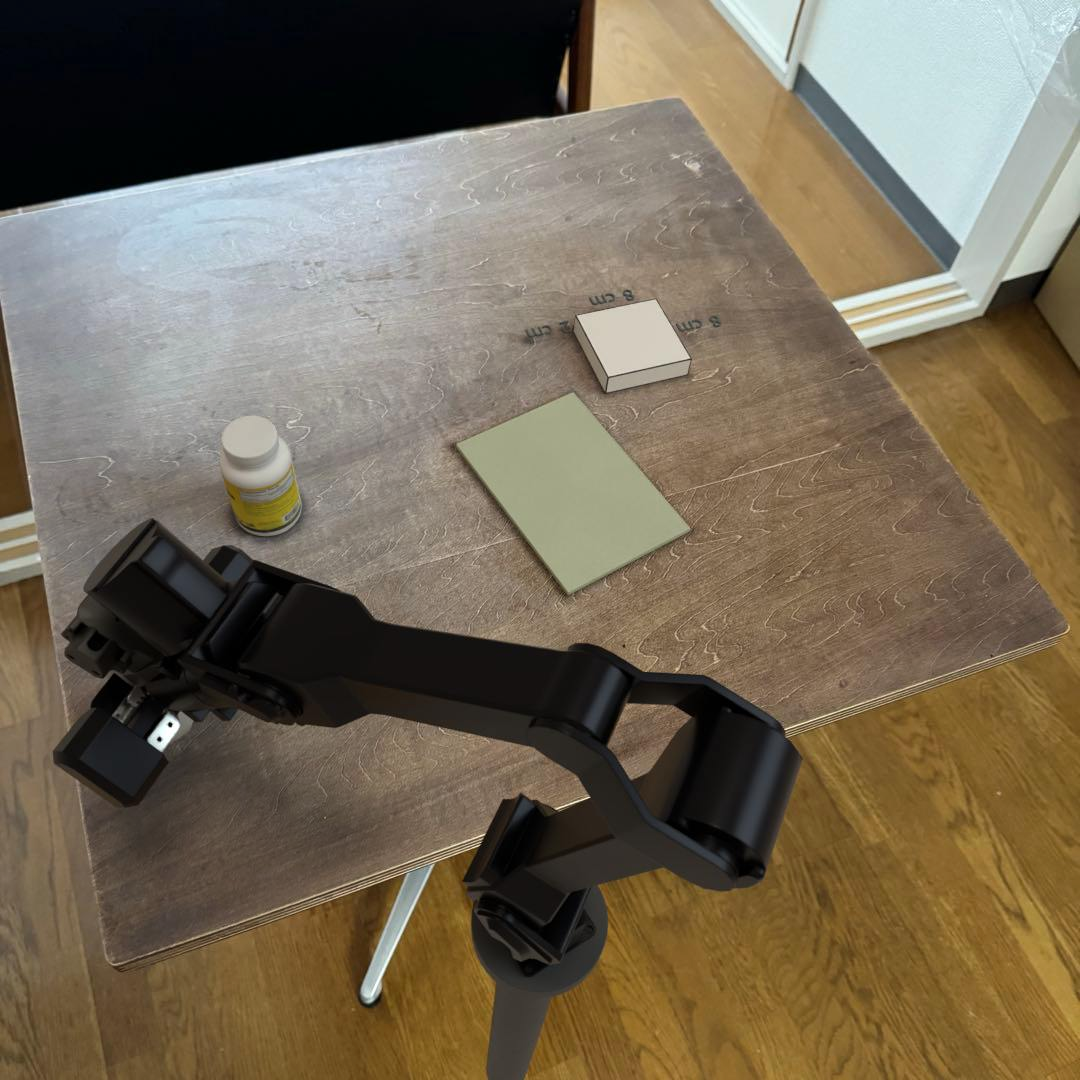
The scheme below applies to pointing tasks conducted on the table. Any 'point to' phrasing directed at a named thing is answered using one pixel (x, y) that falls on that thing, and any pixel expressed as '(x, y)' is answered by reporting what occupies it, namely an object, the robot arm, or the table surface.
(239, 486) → the pill bottle
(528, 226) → the table surface
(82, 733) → the robot arm
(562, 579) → the placemat
